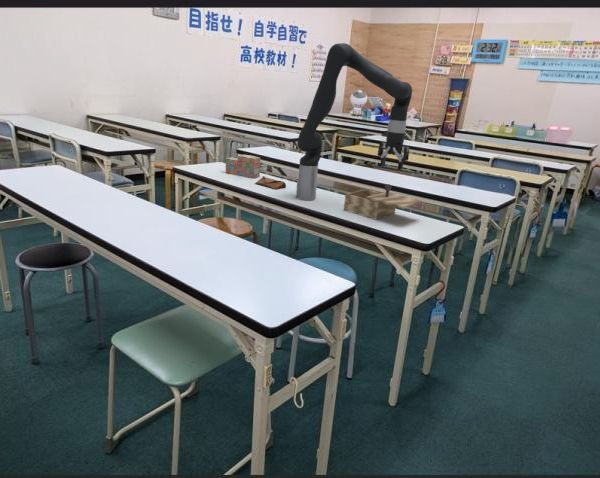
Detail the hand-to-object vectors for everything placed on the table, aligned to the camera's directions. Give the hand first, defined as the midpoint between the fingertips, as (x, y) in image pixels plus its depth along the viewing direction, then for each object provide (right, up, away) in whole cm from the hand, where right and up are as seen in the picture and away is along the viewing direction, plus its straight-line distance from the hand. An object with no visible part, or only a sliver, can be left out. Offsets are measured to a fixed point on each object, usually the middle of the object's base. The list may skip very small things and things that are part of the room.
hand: (391, 168), depth 194 cm
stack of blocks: (-75, +7, +71) cm, 104 cm away
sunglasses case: (-58, -2, +50) cm, 76 cm away
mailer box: (-8, -19, +13) cm, 24 cm away
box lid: (+2, -15, +3) cm, 15 cm away
